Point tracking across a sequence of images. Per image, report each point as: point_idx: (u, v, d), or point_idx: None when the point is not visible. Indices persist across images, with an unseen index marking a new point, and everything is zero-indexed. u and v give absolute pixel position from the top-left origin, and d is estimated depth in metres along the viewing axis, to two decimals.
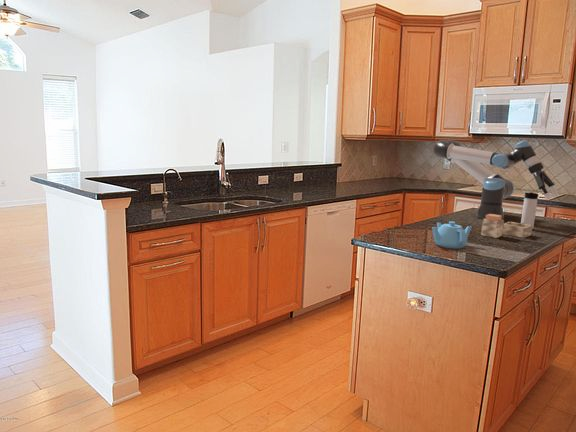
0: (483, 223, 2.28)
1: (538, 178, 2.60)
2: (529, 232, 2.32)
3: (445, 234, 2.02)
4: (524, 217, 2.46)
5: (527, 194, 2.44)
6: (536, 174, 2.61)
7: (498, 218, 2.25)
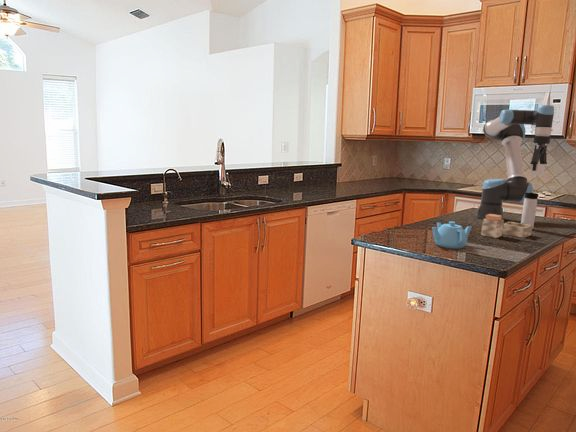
0: (483, 223, 2.28)
1: (537, 152, 2.36)
2: (529, 232, 2.32)
3: (445, 234, 2.02)
4: (524, 217, 2.46)
5: (527, 194, 2.44)
6: (538, 147, 2.36)
7: (498, 218, 2.25)
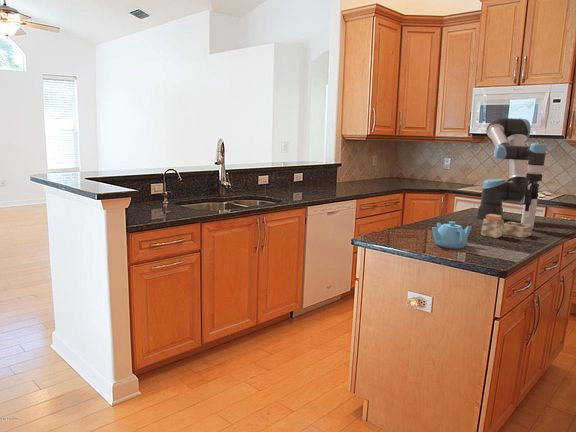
0: (483, 223, 2.28)
1: (528, 193, 2.40)
2: (529, 232, 2.32)
3: (445, 234, 2.02)
4: (524, 217, 2.46)
5: None
6: (529, 188, 2.40)
7: (498, 218, 2.25)
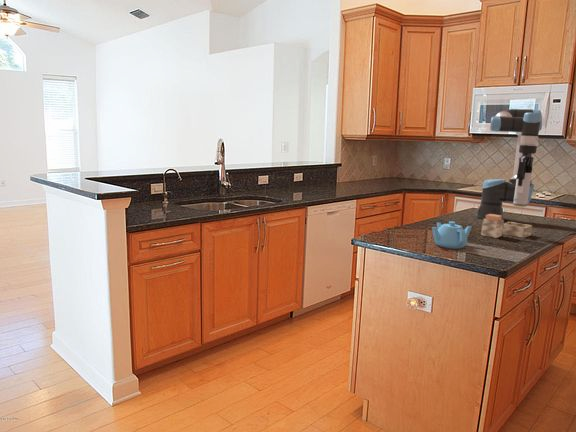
0: (483, 223, 2.28)
1: (522, 166, 2.23)
2: (529, 232, 2.32)
3: (445, 234, 2.02)
4: (517, 193, 2.29)
5: None
6: (522, 160, 2.22)
7: (498, 218, 2.25)
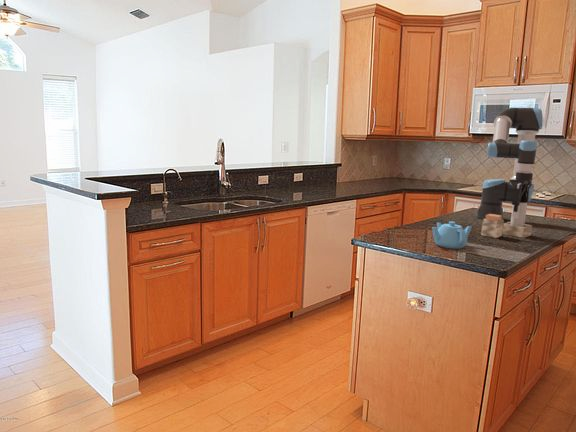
0: (483, 223, 2.28)
1: (518, 192, 2.25)
2: (529, 232, 2.32)
3: (445, 234, 2.02)
4: (513, 222, 2.32)
5: None
6: (518, 187, 2.25)
7: (498, 218, 2.25)
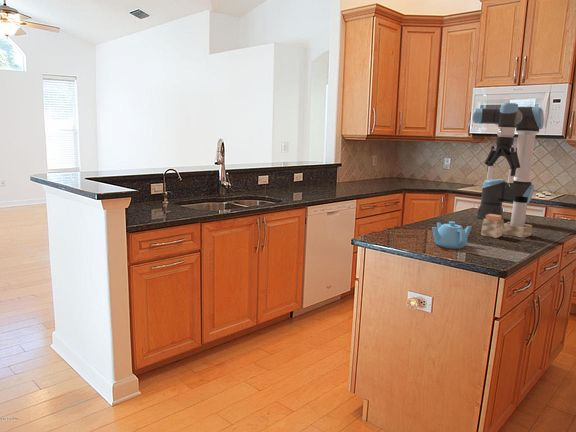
0: (483, 223, 2.28)
1: None
2: (529, 232, 2.32)
3: (445, 234, 2.02)
4: (513, 222, 2.32)
5: (516, 197, 2.30)
6: None
7: (498, 218, 2.25)
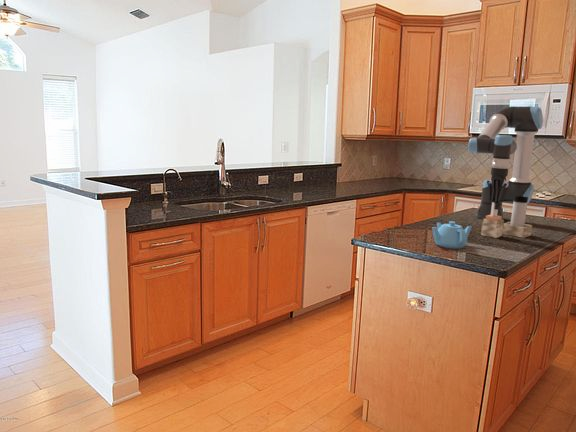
0: (483, 223, 2.28)
1: None
2: (529, 232, 2.32)
3: (445, 234, 2.02)
4: (513, 222, 2.32)
5: (516, 197, 2.30)
6: None
7: (498, 219, 2.25)
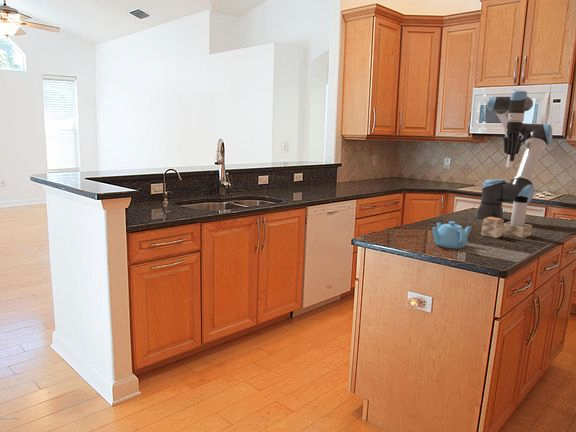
0: (483, 223, 2.28)
1: None
2: (529, 232, 2.32)
3: (445, 234, 2.02)
4: (513, 222, 2.32)
5: (516, 197, 2.30)
6: None
7: None
